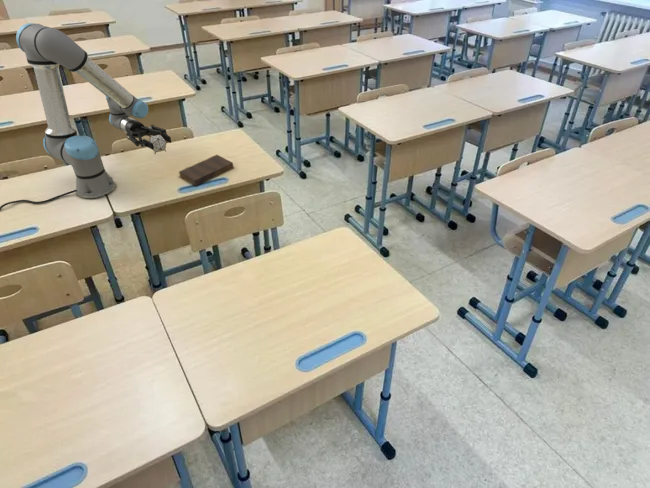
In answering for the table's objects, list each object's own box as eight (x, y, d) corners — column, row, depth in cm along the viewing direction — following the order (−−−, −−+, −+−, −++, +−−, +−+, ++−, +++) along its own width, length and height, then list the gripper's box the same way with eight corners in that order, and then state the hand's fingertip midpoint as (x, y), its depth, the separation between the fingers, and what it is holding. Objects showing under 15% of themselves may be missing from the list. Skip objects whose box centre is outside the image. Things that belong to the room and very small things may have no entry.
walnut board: (195, 186, 203) (194, 180, 201) (179, 176, 209) (178, 171, 207) (233, 168, 216) (232, 162, 214) (217, 159, 222) (216, 154, 220)
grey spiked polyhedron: (164, 160, 205) (165, 149, 196) (145, 154, 203) (144, 143, 194) (169, 143, 209) (170, 132, 200) (150, 137, 206) (150, 126, 197)
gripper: (154, 128, 217) (183, 143, 206) (114, 142, 205) (142, 159, 193) (151, 113, 212) (180, 127, 201) (109, 127, 200) (137, 143, 189)
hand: (161, 143), depth 197 cm, fingers closed on grey spiked polyhedron, 8 cm apart
